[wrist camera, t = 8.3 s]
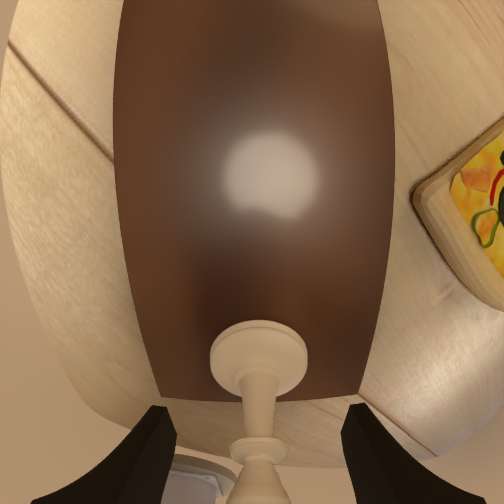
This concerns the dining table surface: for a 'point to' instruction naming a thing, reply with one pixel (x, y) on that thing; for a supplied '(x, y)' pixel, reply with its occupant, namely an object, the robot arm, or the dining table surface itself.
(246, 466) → the chess piece
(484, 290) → the pizza slice
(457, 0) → the dining table surface
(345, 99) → the stand
